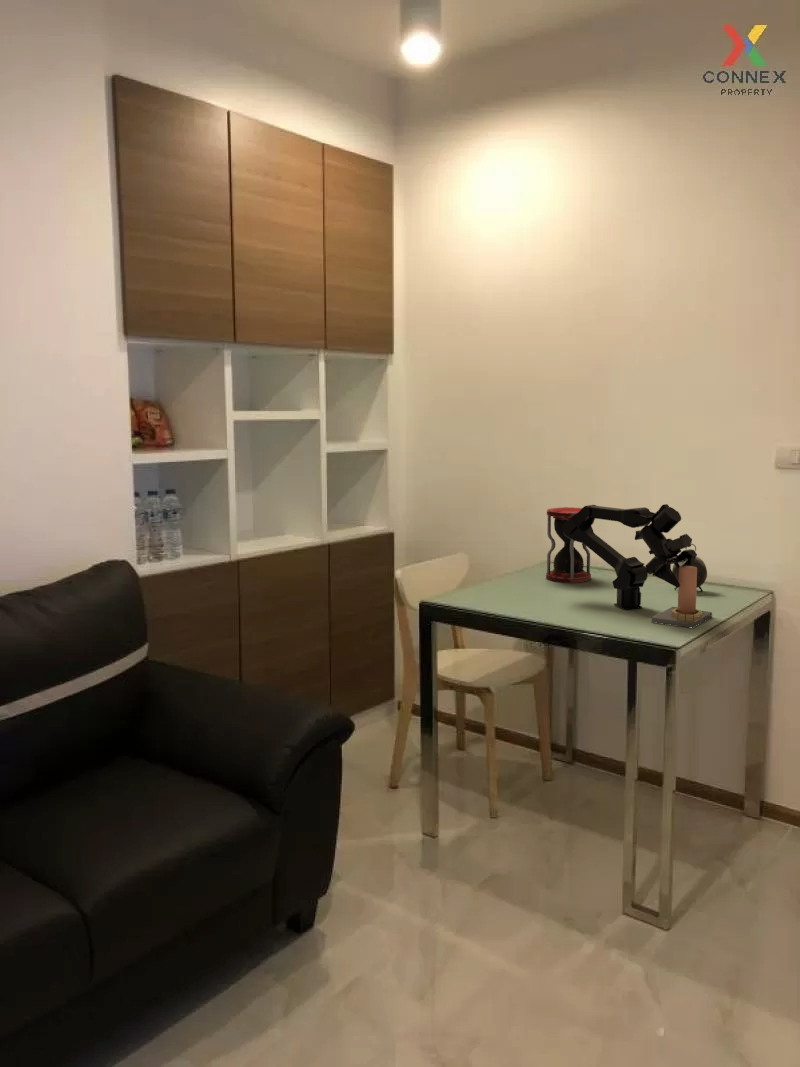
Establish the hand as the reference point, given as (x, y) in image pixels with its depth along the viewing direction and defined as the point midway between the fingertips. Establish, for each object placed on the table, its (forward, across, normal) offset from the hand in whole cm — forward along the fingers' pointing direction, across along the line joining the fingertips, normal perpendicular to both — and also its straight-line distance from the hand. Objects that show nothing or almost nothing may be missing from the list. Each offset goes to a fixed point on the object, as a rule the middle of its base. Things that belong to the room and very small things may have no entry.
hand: (688, 584), depth 257 cm
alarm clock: (-7, +33, +22) cm, 41 cm away
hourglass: (-36, +20, +52) cm, 66 cm away
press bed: (+7, -1, +8) cm, 11 cm away
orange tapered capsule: (+6, 0, +6) cm, 9 cm away
